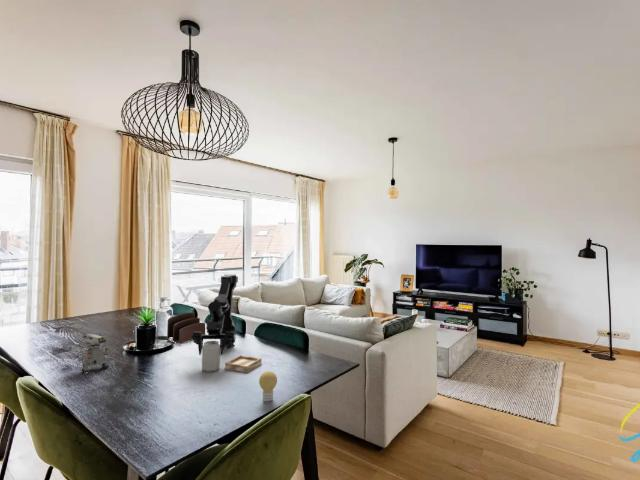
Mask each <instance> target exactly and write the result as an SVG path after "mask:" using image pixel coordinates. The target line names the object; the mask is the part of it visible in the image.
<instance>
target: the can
mask: <svg viewBox="0 0 640 480" xmlns="http://www.w3.org/2000/svg"><path fill="white" fill-rule="evenodd" d="M201 355H202V356H201V369H202V370H203V371H204V372H207V373H212V372H216V371H218V370H219V369H220V366H221V348H220V341H217V340H208V341H205V342H203V347H202V352H201Z"/></svg>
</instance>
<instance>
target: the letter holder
mask: <svg viewBox="0 0 640 480" xmlns="http://www.w3.org/2000/svg"><path fill="white" fill-rule="evenodd" d="M166 325H167V326H166V329H167V334H166V339H167V338H169V337H173V341H174V342H176V343H175V344H178V343H180V344H183V343H185V341H186V342H189V341H191V339H192V333H193V332H202V334H203V335H206V323H205V322H201V319H200V317H195V312H192V311H191V312H184V313H179V314H175V315H173V316H171V317H169V318H168V319H167V324H166ZM188 340H189V341H188ZM192 340H193V339H192ZM182 342H183V343H182Z"/></svg>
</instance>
